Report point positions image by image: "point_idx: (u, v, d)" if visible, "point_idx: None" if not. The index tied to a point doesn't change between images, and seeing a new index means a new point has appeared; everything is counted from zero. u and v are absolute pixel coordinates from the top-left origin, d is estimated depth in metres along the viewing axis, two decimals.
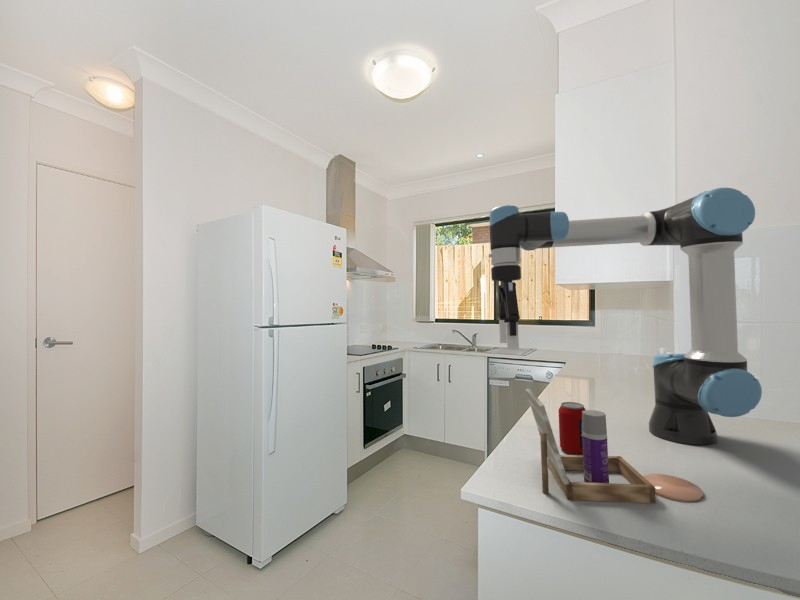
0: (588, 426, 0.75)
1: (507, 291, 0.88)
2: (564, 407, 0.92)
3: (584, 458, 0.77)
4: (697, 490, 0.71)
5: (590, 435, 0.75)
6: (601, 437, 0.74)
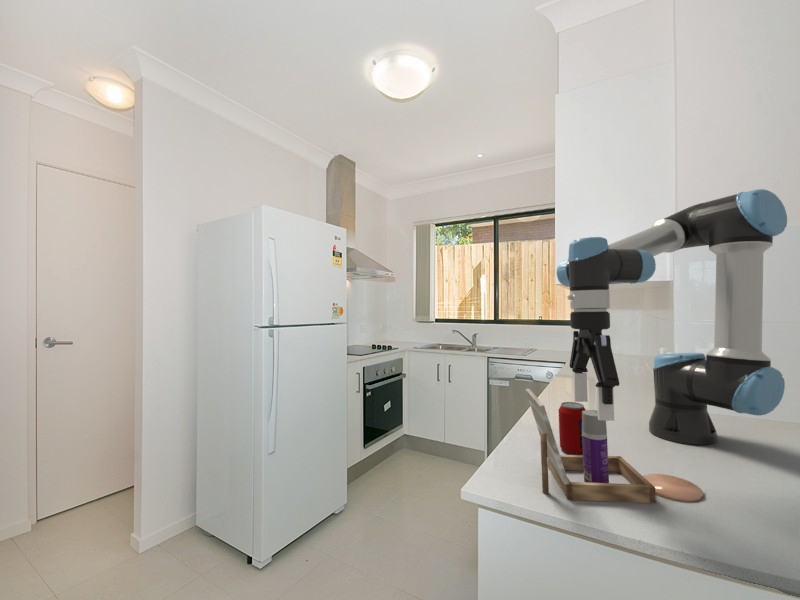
0: (588, 426, 0.75)
1: (599, 347, 0.70)
2: (564, 407, 0.92)
3: (584, 458, 0.77)
4: (697, 490, 0.71)
5: (590, 435, 0.75)
6: (601, 437, 0.74)
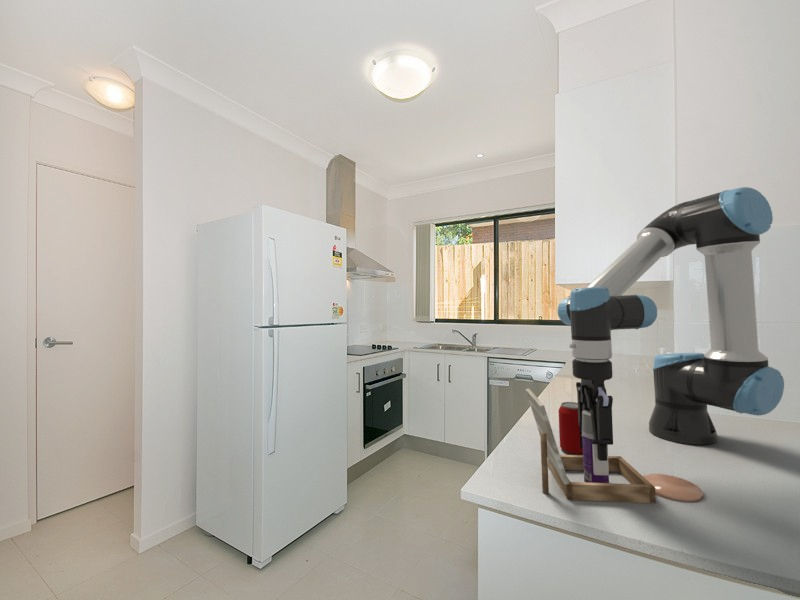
0: (589, 426, 0.75)
1: (600, 408, 0.71)
2: (564, 407, 0.92)
3: (584, 458, 0.77)
4: (697, 490, 0.71)
5: (590, 435, 0.75)
6: None
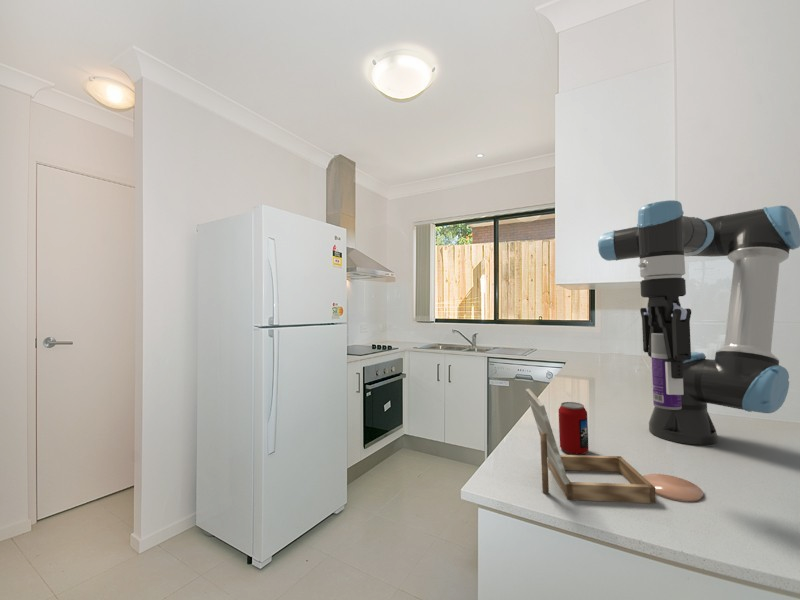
0: (660, 345, 0.73)
1: (677, 321, 0.68)
2: (564, 407, 0.92)
3: (654, 380, 0.74)
4: (697, 490, 0.71)
5: (662, 355, 0.72)
6: None
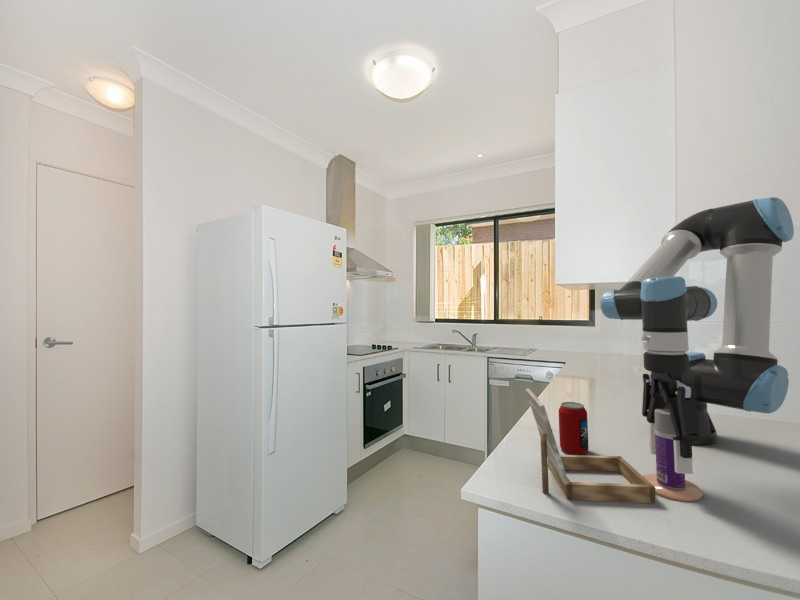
0: (664, 425, 0.72)
1: (682, 399, 0.67)
2: (564, 407, 0.92)
3: (658, 458, 0.74)
4: (697, 490, 0.71)
5: (665, 434, 0.72)
6: None
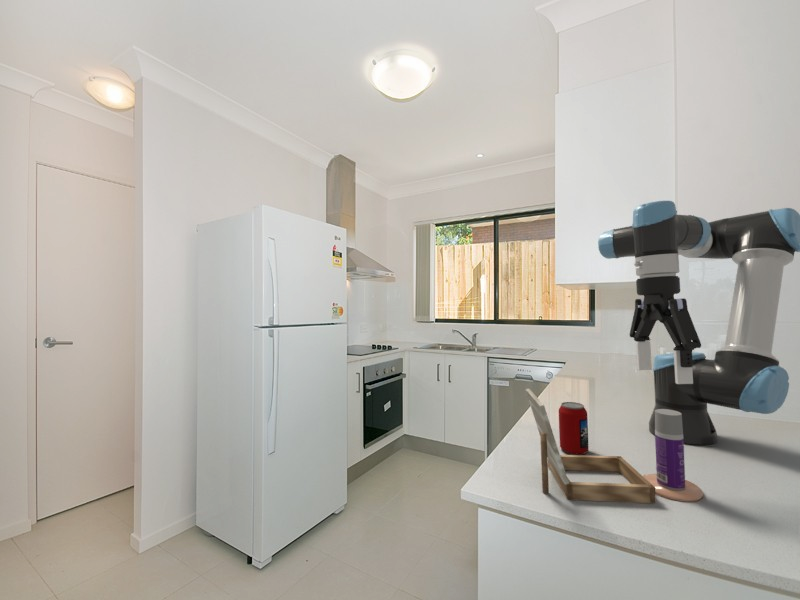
0: (664, 425, 0.72)
1: (676, 310, 0.69)
2: (564, 407, 0.92)
3: (658, 459, 0.74)
4: (697, 490, 0.71)
5: (666, 435, 0.72)
6: (678, 437, 0.71)
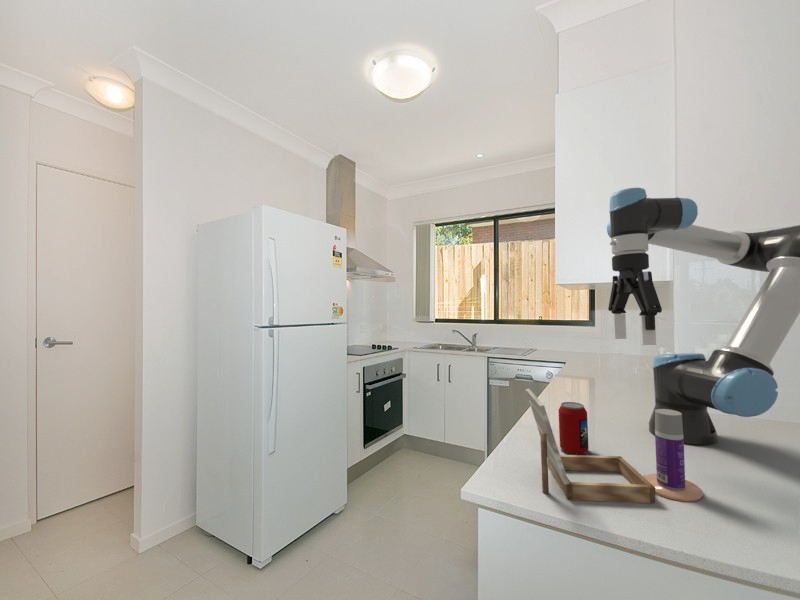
0: (664, 425, 0.72)
1: (642, 281, 0.80)
2: (564, 407, 0.92)
3: (658, 459, 0.74)
4: (697, 490, 0.71)
5: (666, 435, 0.72)
6: (678, 437, 0.71)
